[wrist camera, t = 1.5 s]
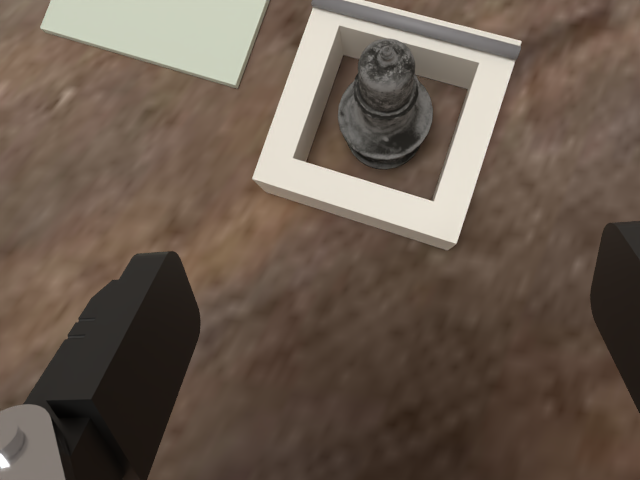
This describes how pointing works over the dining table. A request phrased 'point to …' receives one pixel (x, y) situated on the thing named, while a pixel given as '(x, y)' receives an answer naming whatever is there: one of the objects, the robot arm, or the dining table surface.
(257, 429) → the dining table surface
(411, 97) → the grey chess piece
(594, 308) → the robot arm
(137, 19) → the mat
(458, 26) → the holder
